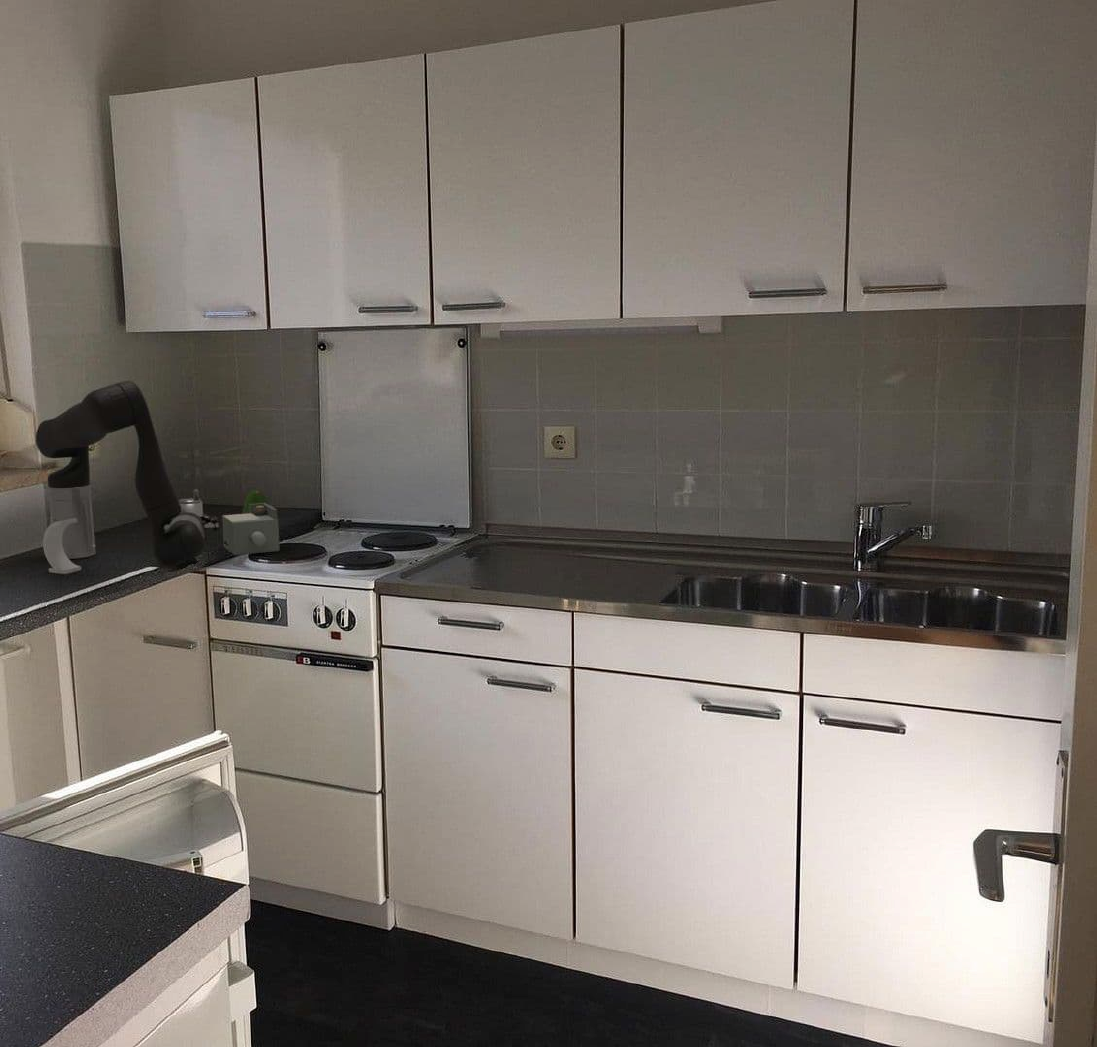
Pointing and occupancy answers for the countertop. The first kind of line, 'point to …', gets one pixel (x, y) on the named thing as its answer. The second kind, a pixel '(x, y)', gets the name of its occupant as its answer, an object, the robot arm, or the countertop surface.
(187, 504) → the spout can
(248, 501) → the avocado
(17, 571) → the countertop surface
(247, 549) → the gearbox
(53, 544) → the headphone stand
